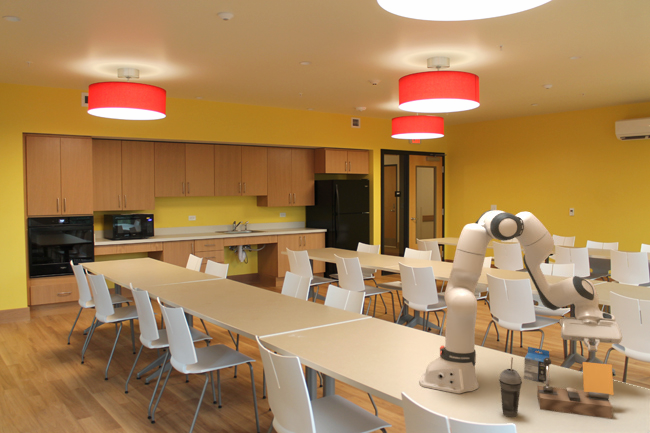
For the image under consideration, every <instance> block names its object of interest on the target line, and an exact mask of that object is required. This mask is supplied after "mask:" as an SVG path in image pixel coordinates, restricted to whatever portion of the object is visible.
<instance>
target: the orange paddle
mask: <svg viewBox="0 0 650 433" xmlns="http://www.w3.org/2000/svg"><path fill="white" fill-rule="evenodd" d="M613 376H614V375H613V365H612V364H608V363H598V362H589V361H582V382H583V391H584V392H588V395H589V397H598V398H607V399H609V398H610V395H611V396H614V395H615V394H614V379H613ZM609 400H610V399H609Z"/></svg>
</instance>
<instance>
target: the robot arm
mask: <svg viewBox="0 0 650 433" xmlns="http://www.w3.org/2000/svg"><path fill="white" fill-rule="evenodd" d="M514 238H515V239H516V240H517V241H518V242H519V244H520V246H521V248H523V251H524V254H523V256H522V260H523V264H524V266H525V269H526V271H527V273H528V274H529V276H530V279H531V281H532V283H533V285H534V287H535V289H536V291H537V293H538V297H539V299H540V302H541V303H542V305H543V306H544V307H545V308H547V309H548V310H552V311H557V310H559V309H562V308H563V307H567V306H569V305H574V307H575V308H574V314H575V317H574V316H570V317H568V316H563V317H561V318H560V319H559V321H558V323H559V326H560V327H561V329H560V337H561V338H562V340H566V341H578V342H583V344H584V346H585V347H587V351H588V352H590V353H591V352H592V353H598V346H599V345H600V344H601V343H603V344H614V345H615V344H617V345H618V344H620V343H622V340H623V335H622V330H621V328H620V325H619V324H618V322H616V316H615V315H614V314H611V313H608V312H605V311H602V310H601V309H600V308H599V303H600V301H599V296H598V291H597V289H596V287H595V285H594V283H593V282H592V281H591V280H588V279H584V278H583V277H581V276H577V275H574V276H569V277H568V278H565V279H563V280H559V281H557V282H554V283H550V282H548V280H547V279H546V277H545V275H544V273H543V270H542V268H541V264H542V263H543V262H544V261H545V260H546V259H548V258H549V256H550V255H551V254H552V252H553V251H554V247H555V241H554V238H553V236H552V235H551V233H550V231H549V230H548V229H547V228H546V227H545V224H543V223H542V221H541V220H539V219H538V217H536V216H535V215H534V214H533V213H532V212H529V211H520V212H518V213H517V214H513V213H510V212H506V211H503V210H498V209H489V210H487V211H485V212H483V213H482V214H481V215H480V216H479V218H478V219H477V220H476V221H475V222H473V223H467V224H465V225H464V226H463V228H462V230H461V233H460V235H459V237H458V241H457V245H456V247H455V248H456V249H455V252H454V257H453V262H452V267H451V271H450V273H449V277H448V280H447V284H446V287H445V291H444V292H445V293H444V296H443V297H444V302H445V303H446V322H445V332H444V333H445V335H444V336H445V342H444V343H445V345H440V346H439V356H438V357H437V358H436V359H434V360H432V361H431V362H429V363H428V365H427V366H426V369H425V373H423V374H422V375H420V377H419V385H420V386H421V387H423V388H428V389H434V390H439V391H442V392H443V391H444V392H448V393H453V394H458V395H459V394H463V393H467V392H472V391H475V390H478V389H479V382H478V379H477V373H476V362H477V354H476V348H475V343H476V342H475V339H476V338H475V336H476V335H475V334H476V333H475V332H476V330H475V328H476V325H477V324H476V323H477V316H478V315H477V314H478V313H477V312H478V300H477V297H476V296H475V292H476V288H477V286H478V282H479V280H480V277H481V275H482V272H483V267H484V264H485V263H484V262H485V258H486V253H487V248H488V245H489V243H490V242H491V241H492V240H493V239H495V240H498V241H504V242H505V241H510V240H513V239H514ZM590 342H592V343H594V344H595V345H591V344H590Z"/></svg>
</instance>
